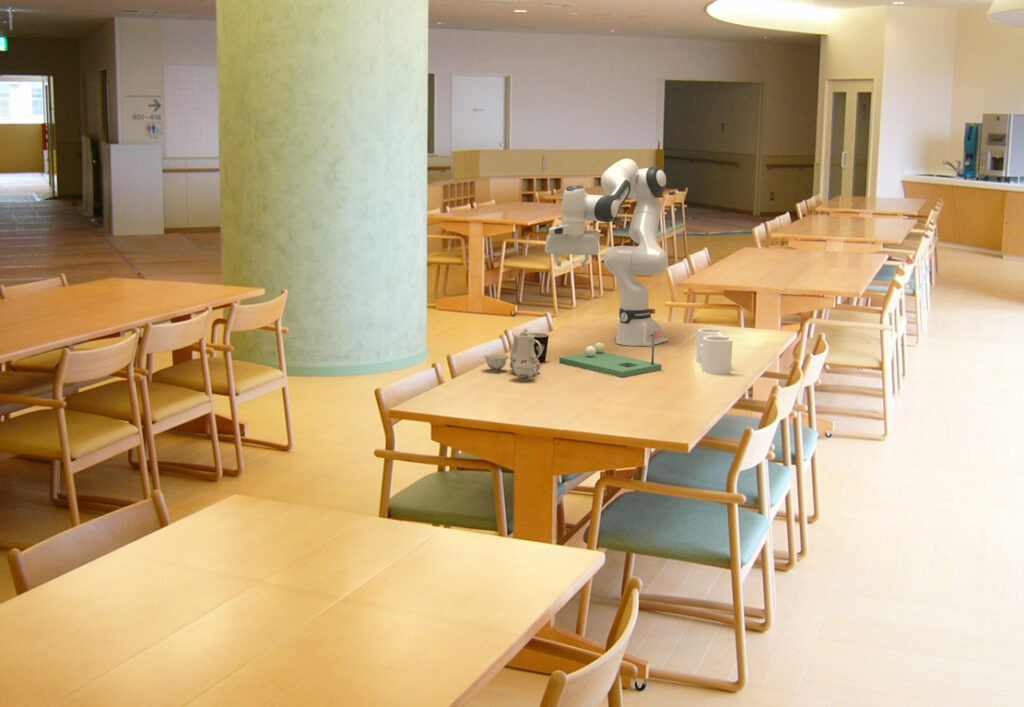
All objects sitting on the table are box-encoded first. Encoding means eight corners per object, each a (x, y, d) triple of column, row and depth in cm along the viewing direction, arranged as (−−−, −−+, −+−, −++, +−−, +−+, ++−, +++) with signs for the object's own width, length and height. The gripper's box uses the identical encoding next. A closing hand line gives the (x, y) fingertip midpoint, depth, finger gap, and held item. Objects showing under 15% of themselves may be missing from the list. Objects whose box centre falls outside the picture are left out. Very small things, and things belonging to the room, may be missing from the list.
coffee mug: (549, 359, 414) (549, 333, 412) (547, 364, 405) (548, 337, 403) (518, 358, 415) (518, 332, 413) (515, 363, 406) (516, 336, 404)
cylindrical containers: (692, 360, 415) (693, 328, 412) (718, 360, 415) (720, 328, 412) (704, 374, 390) (705, 340, 388) (731, 374, 390) (733, 341, 388)
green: (598, 356, 421) (598, 350, 420) (661, 369, 397) (661, 364, 396) (559, 362, 408) (559, 357, 407) (622, 377, 384) (622, 371, 384)
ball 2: (599, 351, 419) (599, 341, 418) (606, 353, 416) (606, 342, 415) (591, 352, 417) (591, 342, 416) (599, 354, 414) (599, 343, 413)
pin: (659, 362, 399) (660, 329, 397) (661, 363, 399) (662, 330, 396) (650, 364, 396) (651, 331, 394) (652, 364, 396) (653, 331, 393)
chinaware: (476, 374, 395) (472, 329, 390) (512, 364, 405) (508, 320, 400) (527, 388, 374) (523, 341, 369) (563, 377, 384) (560, 330, 379)
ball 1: (590, 355, 412) (590, 344, 411) (598, 356, 409) (598, 346, 408) (582, 356, 410) (582, 345, 409) (590, 358, 407) (590, 347, 406)
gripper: (598, 229, 419) (596, 266, 421) (544, 228, 416) (543, 265, 419) (601, 230, 413) (599, 267, 415) (547, 229, 410) (546, 266, 412)
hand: (571, 266), depth 417 cm, fingers open, 8 cm apart
